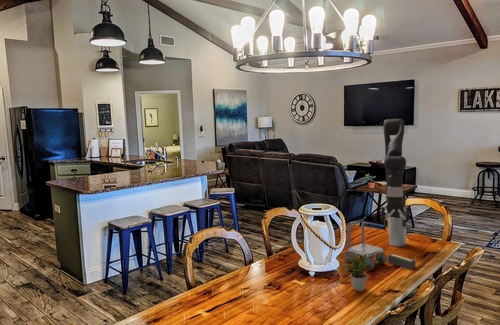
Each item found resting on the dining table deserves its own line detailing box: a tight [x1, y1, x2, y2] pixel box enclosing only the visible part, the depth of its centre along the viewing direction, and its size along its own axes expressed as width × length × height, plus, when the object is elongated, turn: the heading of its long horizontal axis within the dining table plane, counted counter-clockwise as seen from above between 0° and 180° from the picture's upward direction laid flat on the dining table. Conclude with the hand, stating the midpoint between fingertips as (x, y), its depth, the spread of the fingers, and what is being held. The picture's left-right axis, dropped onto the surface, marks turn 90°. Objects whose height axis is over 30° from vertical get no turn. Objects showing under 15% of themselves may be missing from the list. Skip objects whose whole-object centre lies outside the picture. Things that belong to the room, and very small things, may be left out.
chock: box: [387, 253, 417, 270], centre depth 198 cm, size 13×4×4 cm, turn 32°
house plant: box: [340, 252, 369, 292], centre depth 174 cm, size 14×14×16 cm
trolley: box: [344, 218, 388, 270], centre depth 202 cm, size 18×12×22 cm, turn 35°
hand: (394, 227), depth 196 cm, fingers open, 8 cm apart
